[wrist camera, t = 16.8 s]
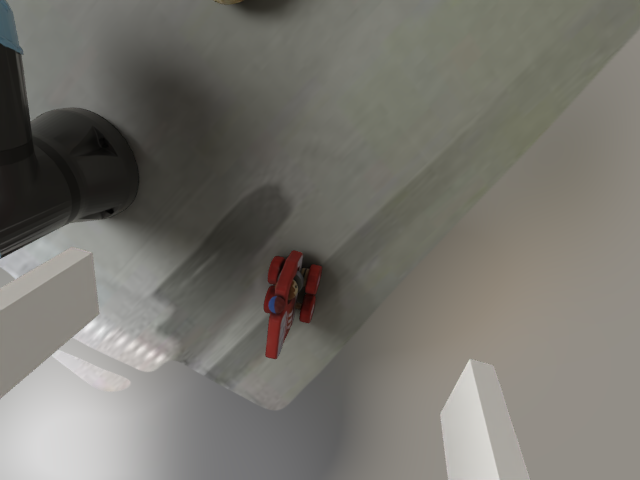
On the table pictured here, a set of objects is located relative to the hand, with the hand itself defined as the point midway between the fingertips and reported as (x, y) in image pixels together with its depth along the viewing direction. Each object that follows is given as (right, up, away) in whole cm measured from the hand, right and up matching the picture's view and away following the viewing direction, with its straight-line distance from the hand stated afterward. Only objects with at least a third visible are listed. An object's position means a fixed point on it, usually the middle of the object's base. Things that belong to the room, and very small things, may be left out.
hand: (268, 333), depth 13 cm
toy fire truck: (-2, -3, +41) cm, 42 cm away
